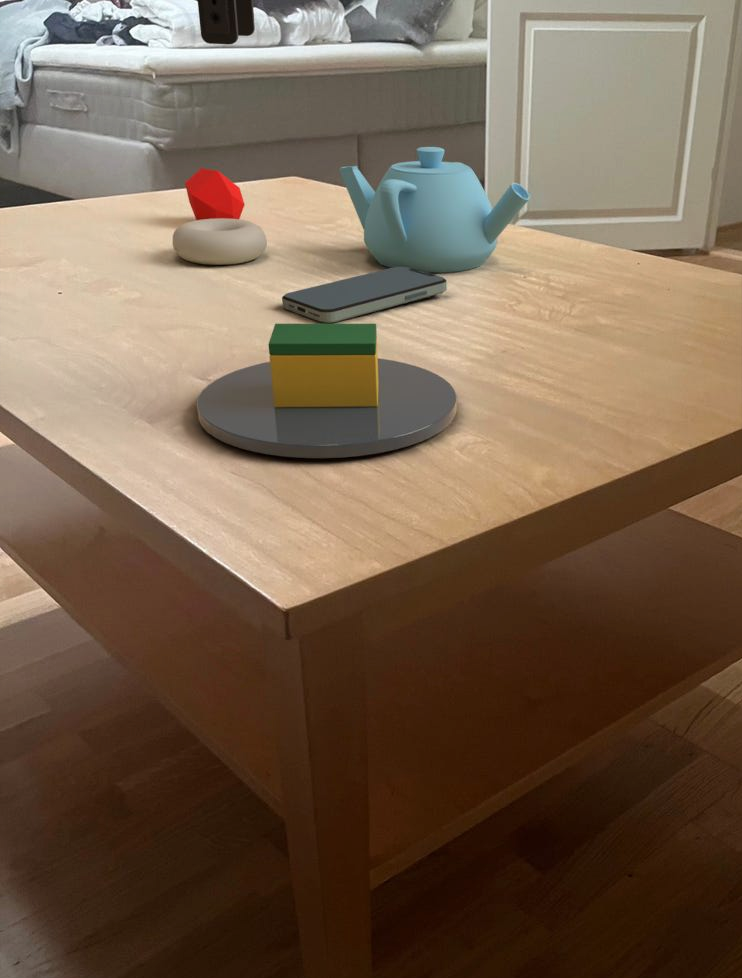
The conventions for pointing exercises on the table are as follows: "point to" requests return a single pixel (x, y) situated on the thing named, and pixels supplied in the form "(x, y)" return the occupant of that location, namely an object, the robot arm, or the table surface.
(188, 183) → the faceted red jewel
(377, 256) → the teapot
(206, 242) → the donut
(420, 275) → the smartphone
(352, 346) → the sponge
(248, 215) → the table surface
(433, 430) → the plate
